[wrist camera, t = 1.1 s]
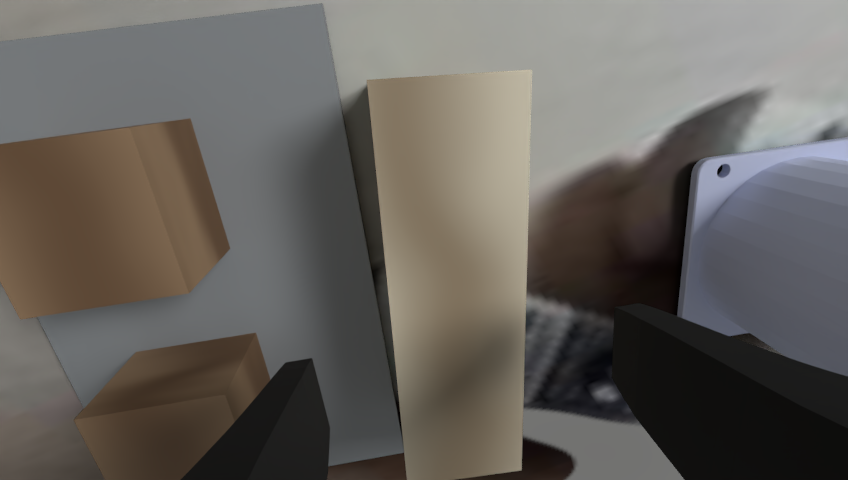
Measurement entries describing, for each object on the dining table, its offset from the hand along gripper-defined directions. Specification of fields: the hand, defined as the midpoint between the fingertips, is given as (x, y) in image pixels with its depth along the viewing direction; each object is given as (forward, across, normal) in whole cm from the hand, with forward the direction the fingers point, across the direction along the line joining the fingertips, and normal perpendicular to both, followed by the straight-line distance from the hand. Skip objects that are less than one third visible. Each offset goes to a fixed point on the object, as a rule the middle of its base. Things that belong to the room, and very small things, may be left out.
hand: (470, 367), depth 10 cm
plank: (+7, 0, 0) cm, 7 cm away
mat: (+7, +8, 0) cm, 11 cm away
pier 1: (+6, +9, -4) cm, 12 cm away
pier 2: (+6, +9, +4) cm, 12 cm away
